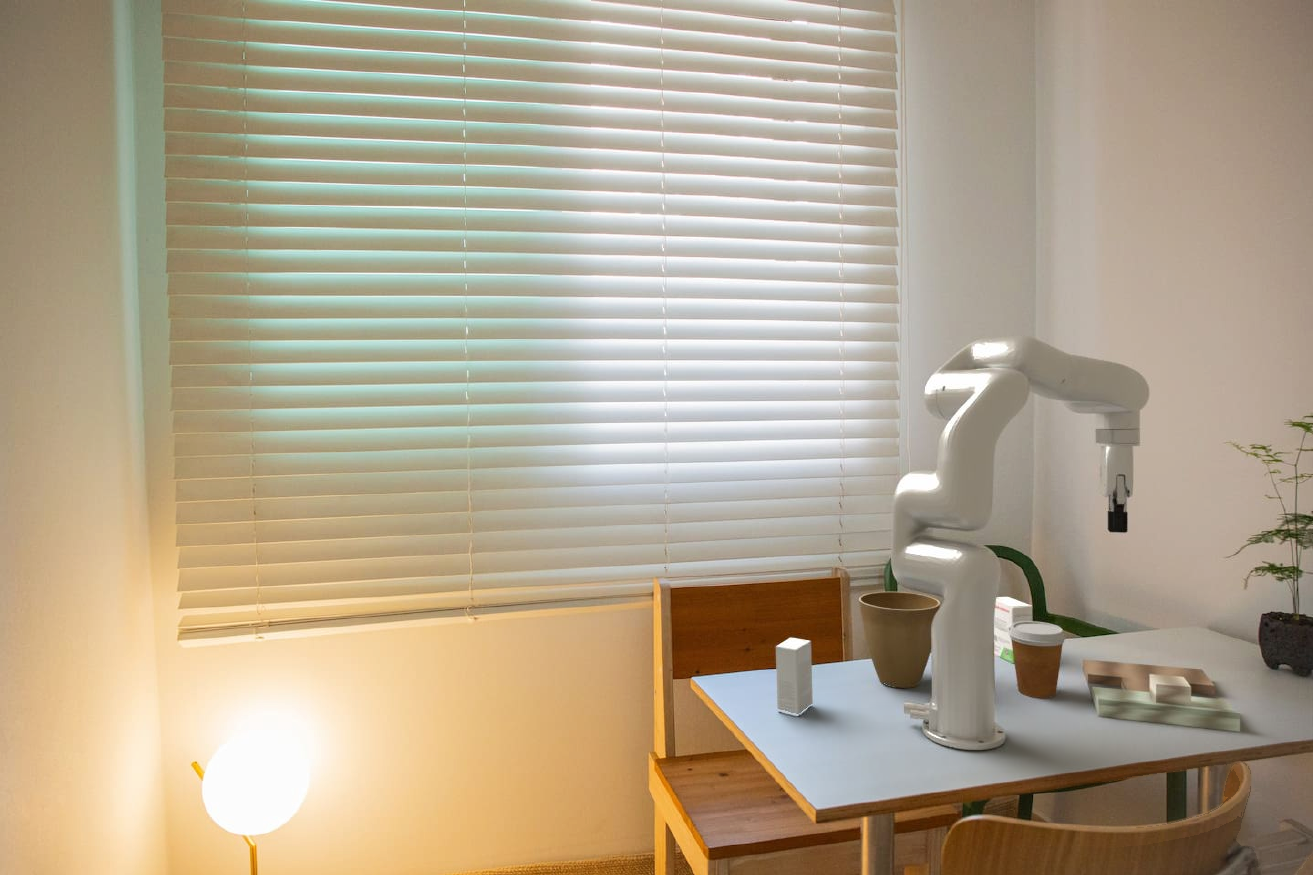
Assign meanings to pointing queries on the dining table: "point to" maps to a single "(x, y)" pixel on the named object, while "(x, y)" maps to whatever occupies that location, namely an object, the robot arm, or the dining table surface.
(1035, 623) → the disposable coffee cup
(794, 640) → the skincare box
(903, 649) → the plant pot
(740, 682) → the dining table surface
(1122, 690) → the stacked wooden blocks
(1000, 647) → the ink box
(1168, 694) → the block
